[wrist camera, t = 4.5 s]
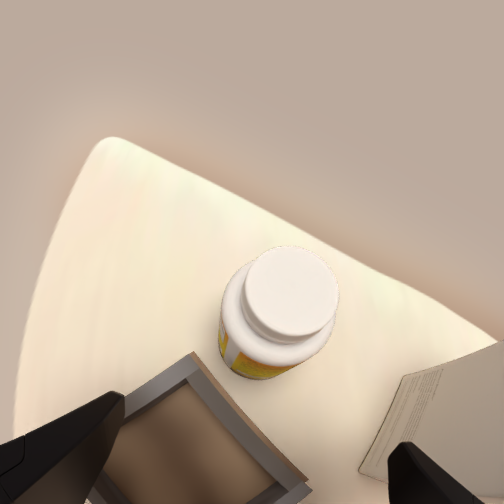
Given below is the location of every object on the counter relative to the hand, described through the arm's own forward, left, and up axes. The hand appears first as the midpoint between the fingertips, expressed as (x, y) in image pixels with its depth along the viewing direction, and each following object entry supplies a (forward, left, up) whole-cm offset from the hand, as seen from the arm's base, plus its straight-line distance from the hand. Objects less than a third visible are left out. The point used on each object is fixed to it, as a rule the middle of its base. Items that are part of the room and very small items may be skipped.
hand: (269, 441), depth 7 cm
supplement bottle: (+5, +4, -12) cm, 13 cm away
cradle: (-5, 0, -12) cm, 13 cm away
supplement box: (+9, -12, -12) cm, 19 cm away
